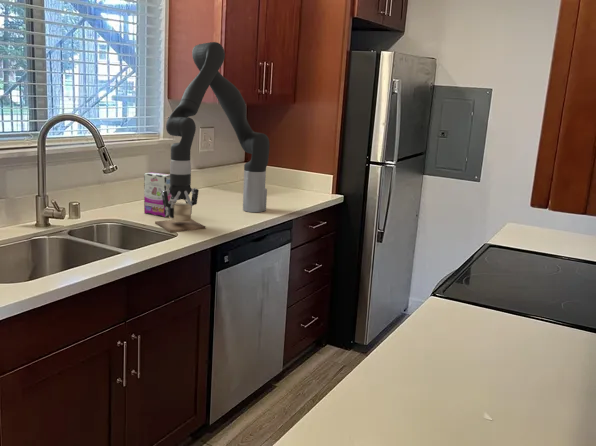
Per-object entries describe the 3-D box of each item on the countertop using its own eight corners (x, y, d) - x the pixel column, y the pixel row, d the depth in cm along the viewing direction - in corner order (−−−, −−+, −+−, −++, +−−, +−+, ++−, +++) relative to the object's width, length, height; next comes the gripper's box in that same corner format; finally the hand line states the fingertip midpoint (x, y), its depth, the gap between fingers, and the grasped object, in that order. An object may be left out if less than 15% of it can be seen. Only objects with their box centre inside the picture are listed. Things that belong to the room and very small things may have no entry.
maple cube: (184, 217, 223) (184, 202, 221) (190, 221, 218) (191, 205, 217) (169, 218, 219) (169, 203, 218) (175, 222, 215) (175, 206, 213)
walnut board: (189, 220, 229) (189, 218, 229) (205, 228, 218) (205, 226, 217) (155, 223, 221) (155, 221, 221) (169, 232, 210) (169, 230, 210)
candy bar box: (173, 215, 236) (173, 174, 232) (165, 217, 231) (165, 176, 227) (152, 211, 241) (152, 171, 237) (143, 213, 236) (143, 172, 232)
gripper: (194, 169, 222) (193, 213, 225) (157, 171, 213) (157, 216, 217) (202, 172, 216) (202, 217, 220) (165, 174, 208) (165, 220, 211)
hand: (180, 216), depth 218 cm, fingers closed on maple cube, 6 cm apart
